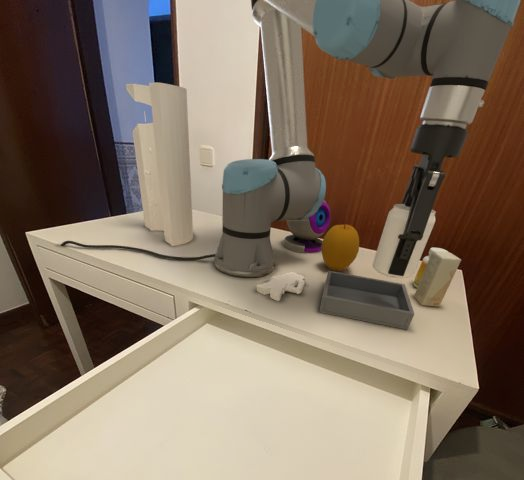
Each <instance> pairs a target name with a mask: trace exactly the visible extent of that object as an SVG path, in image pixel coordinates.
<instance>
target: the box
mask: <svg viewBox="0 0 524 480" xmlns="http://www.w3.org/2000/svg"><path fill="white" fill-rule="evenodd" d="M461 262H462V259H461V258H459V257H458V256H457V255H455V254H453V253H451V252H449V251H448V252H440V251H432V253H431V256H430V258H429V260H428V263H427V265H426V268H425V270H424V273H423V275H422V278H421V280H420V282H419V285H418V287H417V288H416V289H415V292H414V295H413V297H414V298H415V300H417V302H418V303H419V304H420V305H421V306H426V307H427V306H428V307H437V308H439V307H440V306H441V304H442V302H443V300H444V297H445V296H446V293H447V292H448V289H449V287H450V285H451V283H452V280H453V279H454V276H455V274H456V273H457V270H458V268H459V266H460V264H461Z"/></svg>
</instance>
